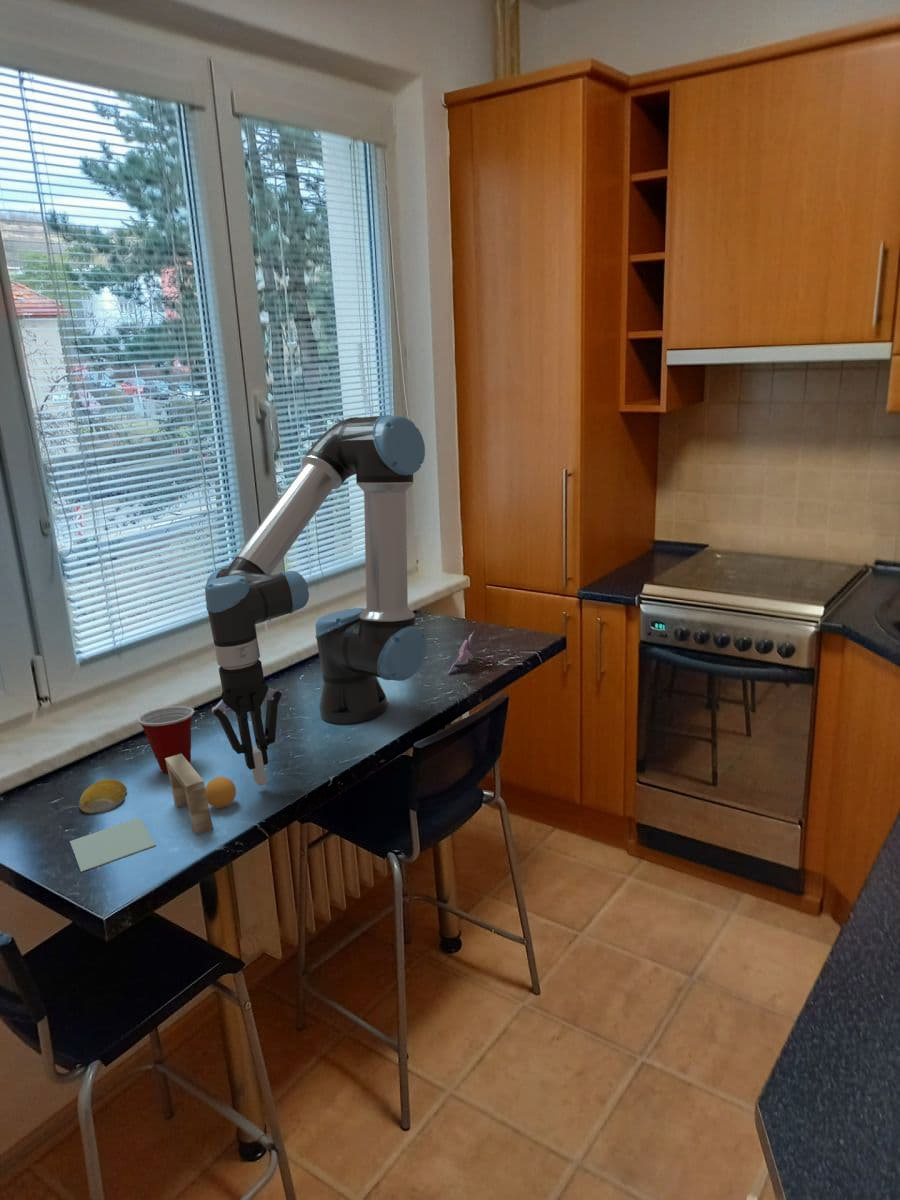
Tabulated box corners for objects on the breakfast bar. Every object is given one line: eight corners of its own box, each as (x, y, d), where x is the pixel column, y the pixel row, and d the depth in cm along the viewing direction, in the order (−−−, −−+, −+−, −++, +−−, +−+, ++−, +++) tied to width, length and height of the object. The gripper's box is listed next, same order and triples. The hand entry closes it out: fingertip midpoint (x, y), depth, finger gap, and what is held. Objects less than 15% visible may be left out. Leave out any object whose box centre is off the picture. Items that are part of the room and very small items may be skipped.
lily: (471, 661, 221) (450, 632, 219) (504, 649, 213) (482, 619, 211) (450, 690, 213) (428, 661, 211) (484, 679, 205) (460, 649, 203)
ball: (194, 789, 156) (213, 807, 159) (204, 799, 151) (223, 818, 154) (217, 766, 158) (235, 785, 160) (227, 776, 153) (246, 795, 156)
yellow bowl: (129, 788, 169) (125, 769, 168) (123, 809, 160) (118, 790, 159) (85, 796, 167) (80, 777, 166) (76, 818, 159) (71, 799, 157)
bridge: (190, 798, 161) (181, 753, 159) (213, 828, 149) (203, 780, 146) (174, 803, 160) (165, 758, 157) (196, 835, 147) (186, 786, 145)
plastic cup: (215, 759, 176) (205, 705, 173) (175, 783, 168) (163, 727, 164) (178, 752, 182) (168, 699, 179) (137, 775, 173) (125, 720, 170)
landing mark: (140, 818, 155) (140, 817, 155) (155, 845, 145) (155, 844, 145) (69, 842, 150) (69, 841, 150) (81, 872, 140) (80, 871, 140)
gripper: (209, 677, 147) (232, 801, 154) (281, 658, 154) (300, 777, 160) (197, 667, 154) (220, 786, 160) (266, 649, 160) (286, 764, 166)
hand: (260, 782), depth 160 cm, fingers closed
